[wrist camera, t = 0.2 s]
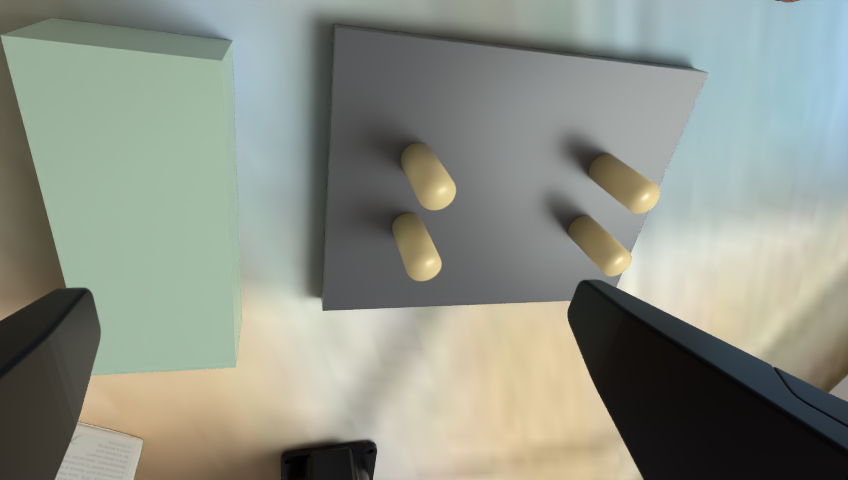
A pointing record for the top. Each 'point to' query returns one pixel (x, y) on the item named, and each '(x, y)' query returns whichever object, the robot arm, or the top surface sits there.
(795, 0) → the wooden tablet
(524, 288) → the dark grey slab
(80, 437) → the syrup box
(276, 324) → the top surface
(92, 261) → the board
